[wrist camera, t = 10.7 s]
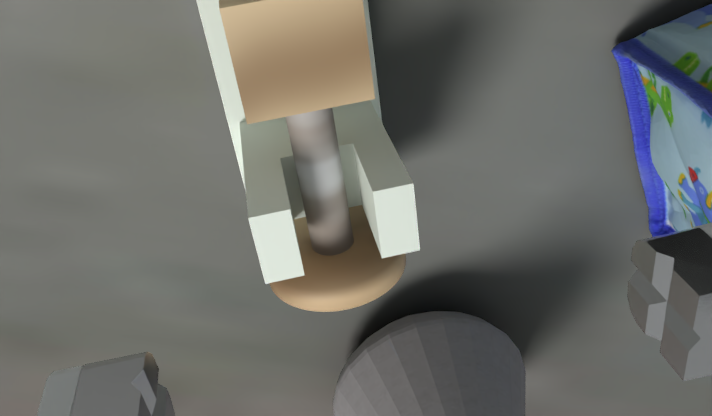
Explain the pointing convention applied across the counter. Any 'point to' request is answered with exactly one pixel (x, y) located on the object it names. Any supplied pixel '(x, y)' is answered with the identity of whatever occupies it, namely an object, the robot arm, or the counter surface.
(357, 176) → the brackets
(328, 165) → the brown block with rod
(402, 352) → the coffee pot
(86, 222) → the counter surface
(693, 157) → the lunch bag
